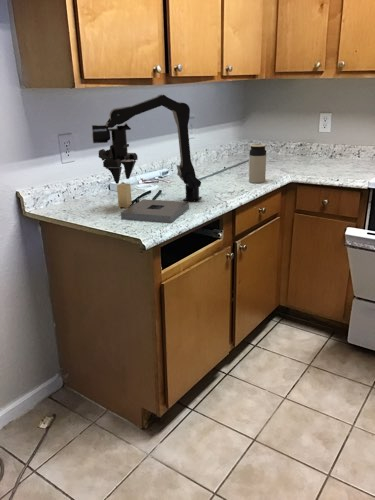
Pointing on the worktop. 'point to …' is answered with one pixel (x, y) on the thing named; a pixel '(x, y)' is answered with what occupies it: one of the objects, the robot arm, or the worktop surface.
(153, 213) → the post plate
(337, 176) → the worktop surface
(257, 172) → the travel mug
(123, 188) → the brass peg
